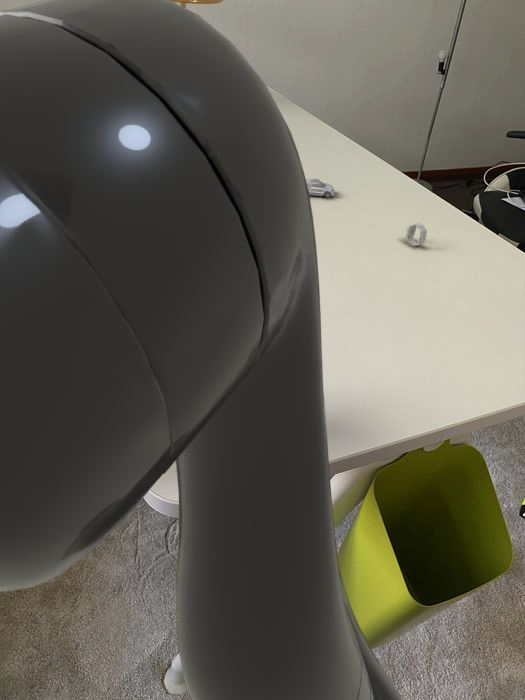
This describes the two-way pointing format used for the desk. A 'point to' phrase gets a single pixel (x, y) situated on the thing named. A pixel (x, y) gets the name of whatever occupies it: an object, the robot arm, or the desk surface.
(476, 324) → the desk surface
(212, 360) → the robot arm
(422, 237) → the grey ring
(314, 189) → the toy car
